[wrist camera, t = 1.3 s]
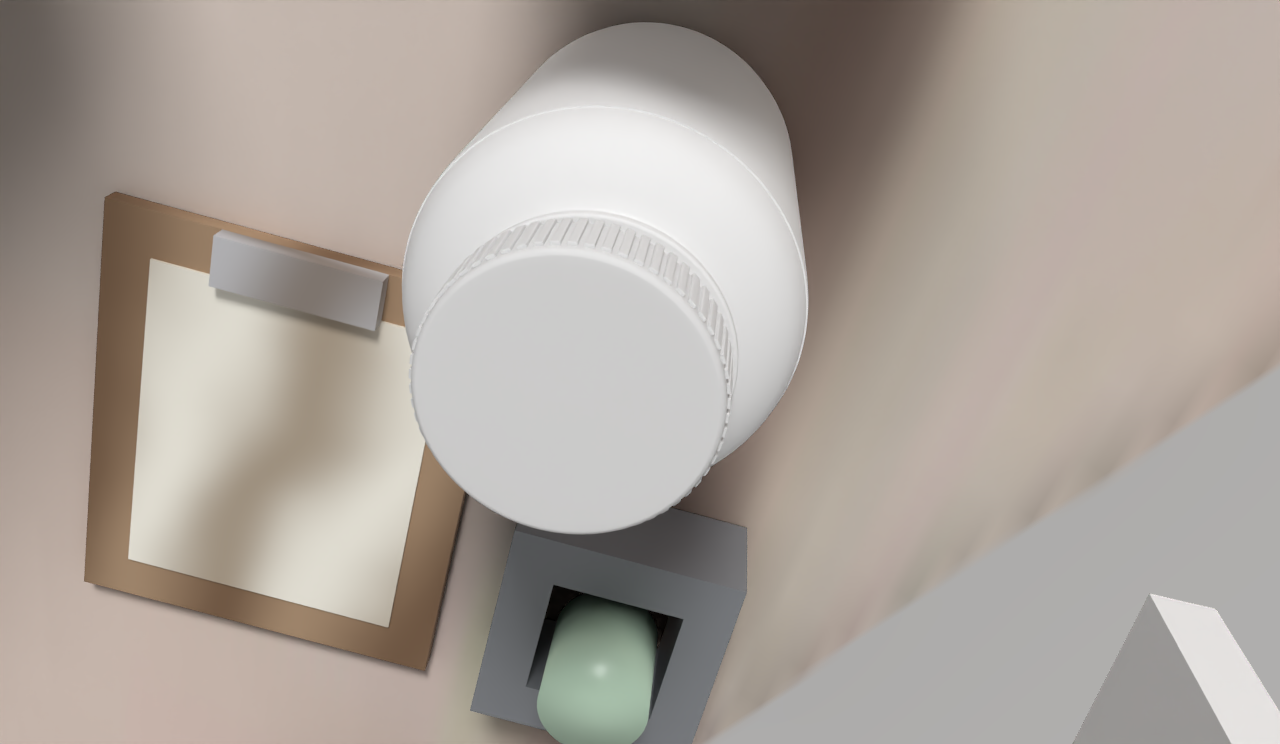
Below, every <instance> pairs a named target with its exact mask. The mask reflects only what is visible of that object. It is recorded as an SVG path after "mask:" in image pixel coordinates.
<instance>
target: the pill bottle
mask: <svg viewBox="0 0 1280 744" xmlns="http://www.w3.org/2000/svg"><path fill="white" fill-rule="evenodd" d="M402 304H403V315H404V322H405V328H406V333H407V337H408V341H409V345H410V348H411V351H412V354H411V355H410V362H409V364H411V365H412V366H411V367H410V369H409V379H411V382H410V384H409V391H410V393H412V398H411V404H412V407H413V408H414V411H415V413H414V416H415V419H416V421H417V422H418V424H419V430H420V432H421V434H422V436H423V437H424V439H425V442H426V444H427V446H428V448H429V449H430V450H431V452H432V454H433V456H434V457H435V459H436V460H437V461H438V463H439V464H440V465H441V467H442V468H443V469H444V471H445V472H446V473H447V474H448V475H449V476H450V478H451V479H452V480H453V481H454V482H455V483H456V484H457V485H458V486H459V487H460V488H462V489H463V490H464V491H465V492H466V493H467V494H468V495H470V496H471V497H472V498H474V499H475V500H476V501H478V502H479V503H481V504H482V505H484V506H485V507H487V508H488V509H490V510H492V511H493V512H495V513H497V514H499V515H501V516H503V517H505V518H507V519H510V520H512V521H514V522H517V523H520V524H522V525H525V526H528V527H532V528H535V529H539V530H544V531H549V532H555V533H563V534H598V533H606V532H612V531H617V530H621V529H625V528H628V527H631V526H635V525H638V524H641V523H643V522H645V521H647V520H651V519H653V518H655V517H656V516H657V515H659V514H662V513H664V512H666V511H667V510H669V508H670V507H671V506H675V505H676V504H678V503H679V502H680V501H681V499H682V498H683V497H686V496H687V495H689V494H690V493H691V492H692V488H693V487H697V485H698V484H699V483H700V482H701V480H702V476H706V474H707V473H708V471H709V470H710V467H711V466H712V465H714V464H716V463H717V462H719V461H721V460H722V459H724V458H725V457H726V456H728V455H729V454H731V453H732V452H733V451H735V450H736V449H737V448H738V447H739V446H741V445H742V444H743V443H744V442H745V441H746V440H747V439H748V438H749V437H750V436H751V435H752V434H753V433H754V432H755V431H756V430H757V429H758V428H759V427H760V426H761V425H762V423H763V422H764V421H765V420H766V419H767V417H768V416H769V415H770V413H771V412H772V411H773V409H774V408H775V407H776V405H777V404H778V402H779V401H780V399H781V398H782V396H783V394H784V393H785V391H786V389H787V387H788V385H789V383H790V381H791V379H792V377H793V375H794V372H795V370H796V367H797V365H798V362H799V359H800V356H801V352H802V348H803V344H804V340H805V334H806V327H807V318H808V281H807V272H806V263H805V255H804V247H803V239H802V231H801V222H800V214H799V206H798V198H797V190H796V182H795V174H794V166H793V157H792V150H791V144H790V139H789V135H788V131H787V127H786V124H785V122H784V119H783V116H782V114H781V112H780V109H779V107H778V105H777V103H776V101H775V100H774V98H773V96H772V94H771V93H770V91H769V90H768V88H767V87H766V85H765V84H764V83H763V81H762V80H761V79H760V77H759V76H758V75H757V74H756V72H755V71H754V70H753V69H752V68H751V67H750V66H749V65H748V64H747V63H746V62H745V61H744V60H743V59H742V58H740V57H739V56H738V55H737V54H736V53H734V52H733V51H732V50H730V49H729V48H727V47H726V46H724V45H723V44H721V43H720V42H718V41H716V40H714V39H712V38H710V37H708V36H706V35H704V34H702V33H699V32H697V31H694V30H691V29H688V28H684V27H680V26H676V25H671V24H665V23H654V22H637V23H627V24H621V25H615V26H611V27H607V28H604V29H601V30H598V31H595V32H592V33H590V34H587V35H585V36H583V37H581V38H578V39H577V40H575V41H573V42H571V43H569V44H568V45H566V46H565V47H563V48H562V49H560V50H559V51H557V52H556V53H555V54H554V55H552V56H551V57H550V58H549V59H548V60H547V61H545V62H544V63H543V64H542V65H541V66H540V67H539V68H538V70H537V71H536V72H535V73H534V74H533V75H532V76H531V77H530V78H529V79H528V80H527V81H526V82H525V83H524V85H523V86H522V87H521V88H520V89H519V90H518V91H517V92H516V93H515V94H514V95H513V96H512V97H511V99H510V100H509V101H508V102H507V103H506V104H505V105H504V106H503V107H502V108H501V109H500V110H499V111H498V112H497V114H496V115H495V116H494V117H493V118H492V119H491V120H490V121H489V122H488V123H487V124H486V125H485V126H484V127H483V129H482V130H481V131H480V132H479V133H478V134H477V135H476V136H475V137H474V138H473V139H472V140H471V141H470V143H469V144H468V145H467V146H466V147H465V148H464V149H463V150H462V151H461V152H460V153H459V154H458V155H457V157H456V158H455V159H454V160H453V161H452V162H451V163H450V164H449V166H448V167H447V168H446V169H445V170H444V172H443V173H442V174H441V175H440V177H439V178H438V180H437V181H436V182H435V184H434V185H433V187H432V188H431V190H430V192H429V193H428V195H427V197H426V198H425V200H424V202H423V204H422V206H421V208H420V210H419V212H418V214H417V216H416V218H415V221H414V223H413V226H412V229H411V232H410V235H409V239H408V242H407V246H406V251H405V256H404V263H403V272H402Z"/></svg>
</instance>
